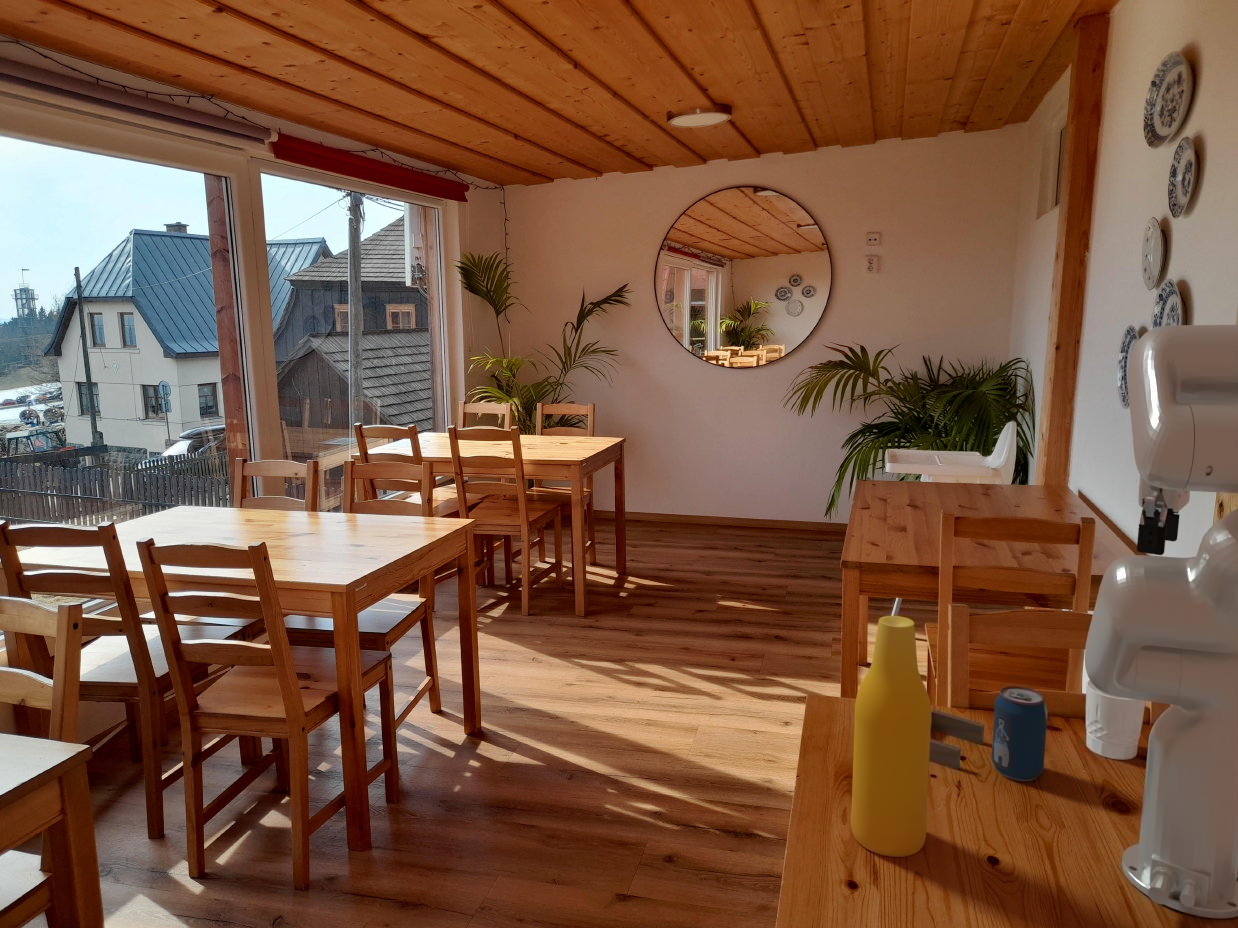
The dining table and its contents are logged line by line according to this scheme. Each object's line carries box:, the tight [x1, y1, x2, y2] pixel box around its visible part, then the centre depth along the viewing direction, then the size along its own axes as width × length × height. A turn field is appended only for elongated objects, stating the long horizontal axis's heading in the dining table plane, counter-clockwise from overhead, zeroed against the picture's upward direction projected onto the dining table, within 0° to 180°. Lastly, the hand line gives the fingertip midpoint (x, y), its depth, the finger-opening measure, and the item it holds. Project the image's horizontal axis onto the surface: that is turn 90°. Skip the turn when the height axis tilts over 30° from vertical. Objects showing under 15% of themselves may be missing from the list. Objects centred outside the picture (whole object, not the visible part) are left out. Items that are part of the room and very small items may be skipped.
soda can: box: [991, 685, 1049, 782], centre depth 122 cm, size 7×7×12 cm
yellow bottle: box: [850, 615, 932, 858], centre depth 106 cm, size 9×9×29 cm
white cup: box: [1085, 679, 1146, 761], centre depth 129 cm, size 8×8×10 cm
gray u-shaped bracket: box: [929, 708, 985, 770], centre depth 131 cm, size 11×9×3 cm
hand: (1157, 546), depth 120 cm, fingers open, 9 cm apart
